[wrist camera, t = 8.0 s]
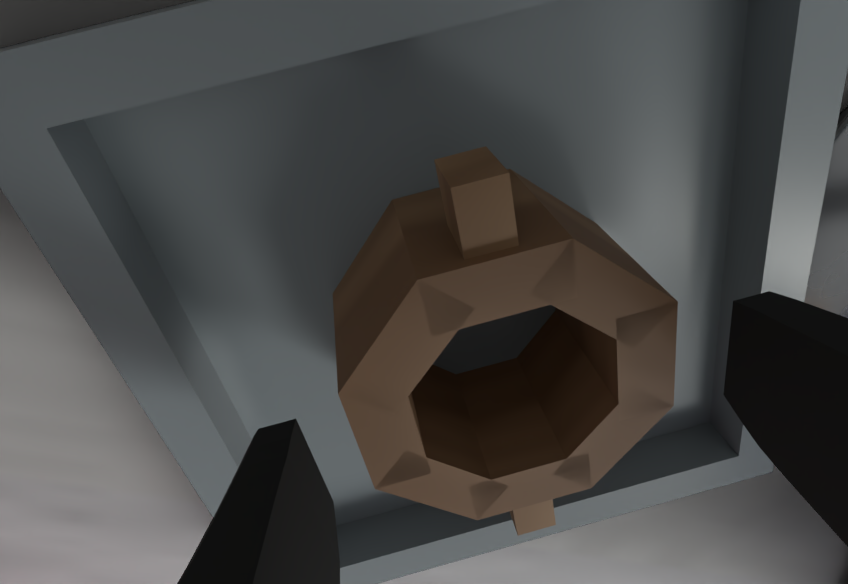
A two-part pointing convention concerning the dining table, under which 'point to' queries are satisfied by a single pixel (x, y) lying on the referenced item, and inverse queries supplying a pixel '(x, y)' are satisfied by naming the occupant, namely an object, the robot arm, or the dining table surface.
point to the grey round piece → (832, 233)
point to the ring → (509, 380)
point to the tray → (405, 175)
